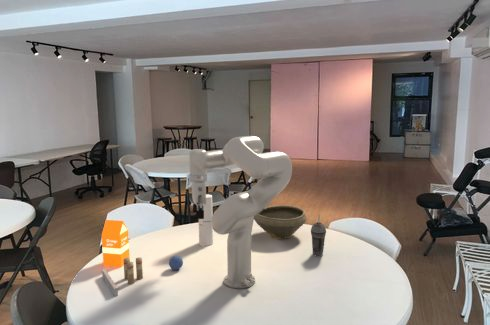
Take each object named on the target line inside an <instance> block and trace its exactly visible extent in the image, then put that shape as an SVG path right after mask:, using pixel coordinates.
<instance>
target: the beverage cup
mask: <svg viewBox="0 0 490 325" xmlns="http://www.w3.org/2000/svg"><path fill="white" fill-rule="evenodd" d="M317 216H318V221H317V222H315V223H313V224H312V226H311V228H310V235H311V244H312V245H311V247H312V255H313V256H314V255H316V256H315V257H322V256H323V254H324V248H325V247H324V246H325V239H326V236H327V235H326V234H327V229H326V226H325V225H324V224H323V223H322V222H320V216H321V214H320V213H319V214H318V215H317ZM321 255H322V256H321Z"/></svg>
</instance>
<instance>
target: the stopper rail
mask: <svg viewBox="0 0 490 325" xmlns="http://www.w3.org/2000/svg"><path fill="white" fill-rule="evenodd" d="M101 273H102V278H103V280H104V281H105V283H106V284H107V286H108V288H109V289H110V291H111V293H112V294H113V296H114V297H118V296H119V292H118V290H119V289H118V287H117V285H116V283H115V282H114V280H113V279H112V277H111V276H110V274H109V273H108V271H107V270H106V268H104V269H102V272H101Z"/></svg>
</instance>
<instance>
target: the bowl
mask: <svg viewBox="0 0 490 325" xmlns="http://www.w3.org/2000/svg"><path fill="white" fill-rule="evenodd" d="M306 221H307V216H306V213H305V210H304V209H302V208H300V207H299V206H293V205H283V204H282V205H271V206H270V205H269V206H266V207H265V208H264V209H263V210H262V211H261V212H260V213H259V214H257V215H255V216H254V222H255V223H256V225H257V226H259V227H260V228H261V229H263V231H264V232H265V233H267V235H269V237H270V238H272V239H276V240H281V239H282V240H283V239H289V238H291V237H292V236H293V235H294V234H295V233H296V232H297V231H298V230H299V229H301V227H302V226H303V225H304V224H305V223H306Z"/></svg>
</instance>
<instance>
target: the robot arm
mask: <svg viewBox="0 0 490 325" xmlns="http://www.w3.org/2000/svg"><path fill="white" fill-rule="evenodd" d="M264 147H265V144H264V141H262V139H261V138H260V137H258V136H255V135H244V136H236V137H235V136H234V137H232V138H230V140H229V141H228V142H227V143H226V144H225V145H224V147H223V148H222V149H213V150H206V149H204V148H203V149H202V148H195V149H191V150H190V151H189V155H188V156H189V182H190V183H191V197H192V201H193V204H192V212H193V213H196V214H195V217H196V220H199V219H204V207H203V203H204V204H206V194H207V193H206V192H207V189H206V187H207V186H206V182H207V181H208V170H212V169H220V168H224V167H229V166H232V165H236V166H237V168H239V169H241V171H243V172H244V173H245V174H246V175H247V176H248V177H250V178H252V179H257V180H258V181H257V182H256V183H255V184H254V185H253V186H252V187H251V188H250V189H248V190H246V191H243V192H242V191H241V192H238V193H235V194H231V195H230V196H228V197H227V198H226V199H225V200H223V202H222V203H221V204H220V205H219V206H218V207H217V209H216V210H215V211H214V212H213V216H212V219H211V225H212V228H213V232H215V233H216V234H218V235H227V240H226V241H227V247H226V248H227V252H226V254H227V259H226V260H227V275H225V276H224V278H223V283H224V285H225V286H227V287H229V288H232V289H247V288H250V287H251V286H253V285H254V284H255V283H256V278H255V276H254V275H253V274H252V232H253V226H254V222H255V220H254V216H255V215H257V214H259V213H260V212H261V211H262V210H263V209H264V208H265V207H268V205H269V204H271V202H273V200H274V199H275V198H276V197H278V195H279V194H281V192H282V191H283V190H284V189H285V188H286V187H287V186H288V184H289V183H290V181H291V177H292V176H293V175H292V173H293V162H292V159H291V158H290V156H289V155H288V154H286V153H284V152H283V151H282V152H281V151H268V152H264Z"/></svg>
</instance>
